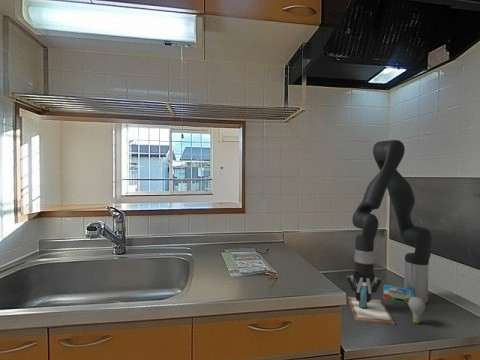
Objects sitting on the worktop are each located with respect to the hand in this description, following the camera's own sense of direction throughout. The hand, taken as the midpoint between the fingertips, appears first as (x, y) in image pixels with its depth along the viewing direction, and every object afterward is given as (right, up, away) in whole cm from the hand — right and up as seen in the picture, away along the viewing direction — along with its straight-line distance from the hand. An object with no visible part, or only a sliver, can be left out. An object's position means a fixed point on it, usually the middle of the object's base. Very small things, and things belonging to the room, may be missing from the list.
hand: (363, 300), depth 120 cm
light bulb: (+16, -4, -10) cm, 19 cm away
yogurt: (+19, -4, +9) cm, 22 cm away
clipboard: (+2, -4, 0) cm, 5 cm away
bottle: (0, -3, 0) cm, 3 cm away
